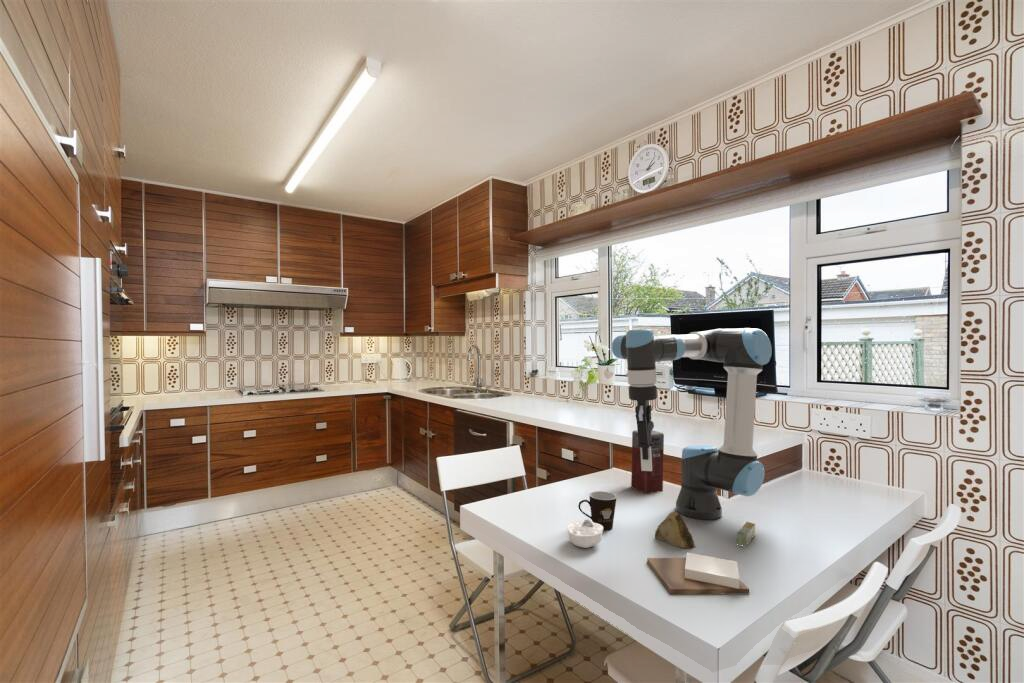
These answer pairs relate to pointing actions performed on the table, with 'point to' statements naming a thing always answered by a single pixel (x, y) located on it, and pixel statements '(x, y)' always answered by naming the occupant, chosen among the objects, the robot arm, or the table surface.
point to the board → (676, 583)
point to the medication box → (745, 533)
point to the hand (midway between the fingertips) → (646, 470)
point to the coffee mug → (601, 508)
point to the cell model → (585, 533)
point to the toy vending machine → (654, 478)
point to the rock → (675, 531)
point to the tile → (712, 570)
